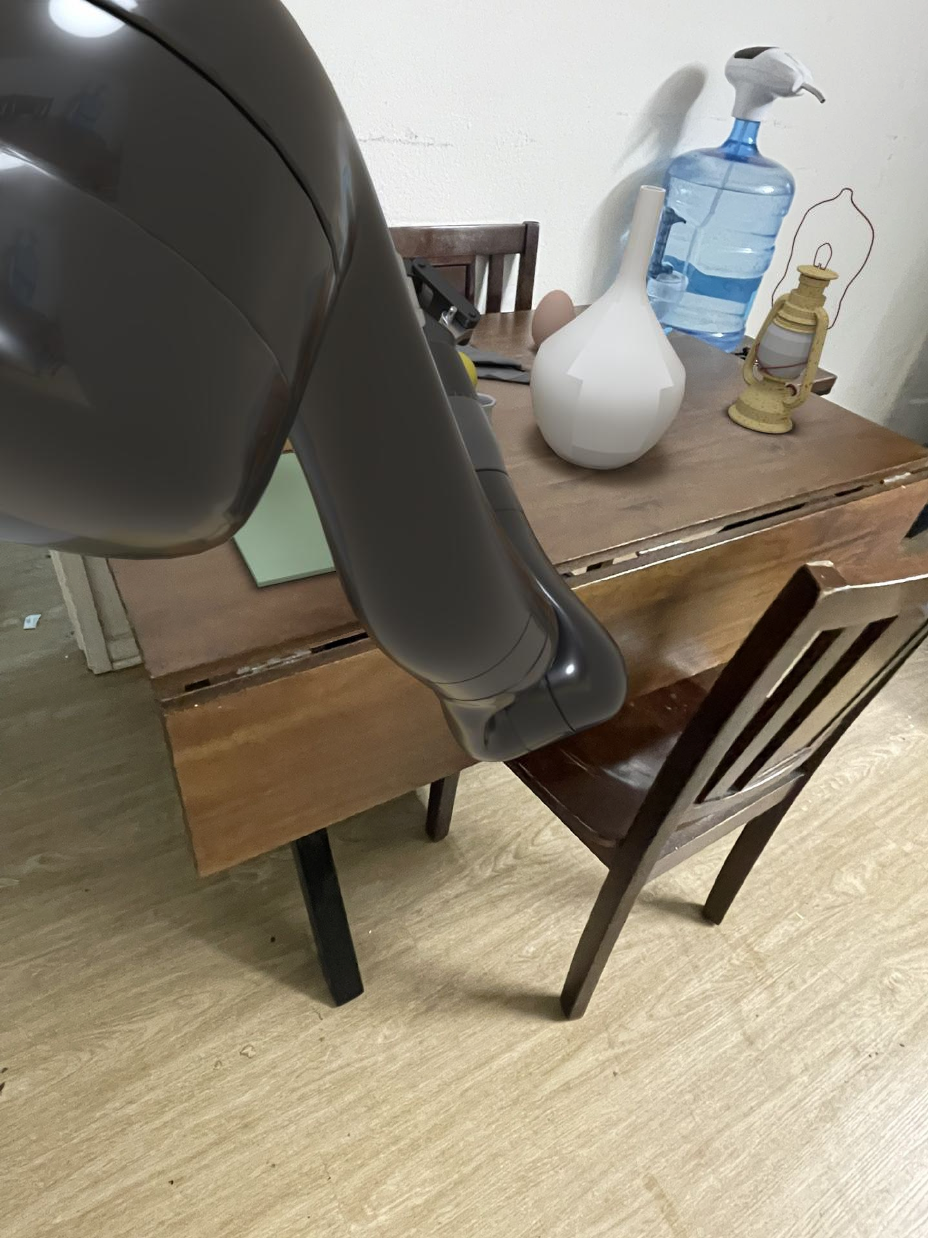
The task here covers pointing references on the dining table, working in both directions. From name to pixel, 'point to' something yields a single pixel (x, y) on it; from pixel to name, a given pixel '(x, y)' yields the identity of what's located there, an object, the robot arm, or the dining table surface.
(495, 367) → the cloth
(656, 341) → the vase
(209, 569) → the dining table surface
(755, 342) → the lantern
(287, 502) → the mat
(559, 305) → the egg
